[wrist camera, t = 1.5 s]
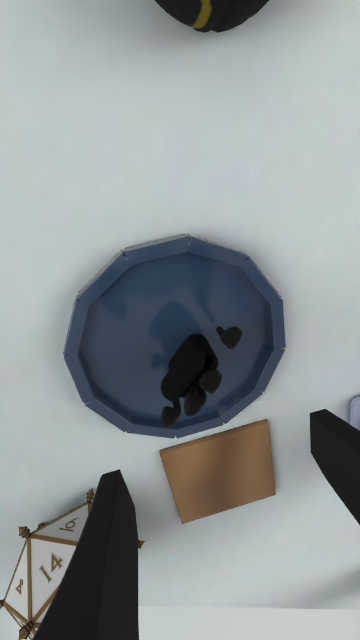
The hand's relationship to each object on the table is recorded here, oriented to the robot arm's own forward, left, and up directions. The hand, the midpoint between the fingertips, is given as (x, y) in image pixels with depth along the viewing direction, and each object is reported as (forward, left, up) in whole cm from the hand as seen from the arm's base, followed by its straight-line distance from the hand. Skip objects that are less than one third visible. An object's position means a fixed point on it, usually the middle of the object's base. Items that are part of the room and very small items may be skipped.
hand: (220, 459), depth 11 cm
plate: (0, 0, -9) cm, 9 cm away
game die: (+11, +13, -9) cm, 19 cm away
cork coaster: (-1, +13, -9) cm, 16 cm away
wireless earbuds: (0, 0, -9) cm, 9 cm away
